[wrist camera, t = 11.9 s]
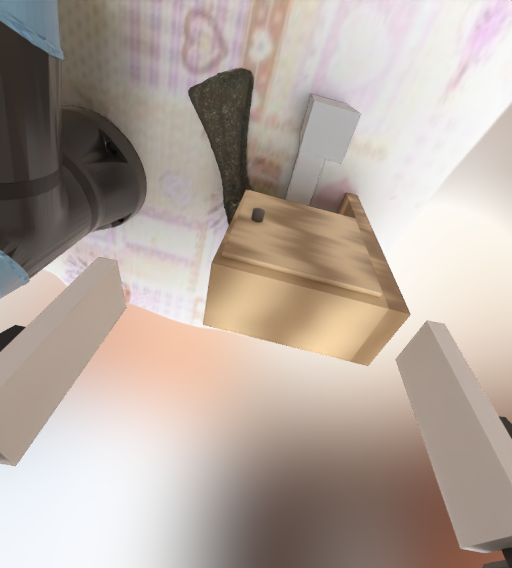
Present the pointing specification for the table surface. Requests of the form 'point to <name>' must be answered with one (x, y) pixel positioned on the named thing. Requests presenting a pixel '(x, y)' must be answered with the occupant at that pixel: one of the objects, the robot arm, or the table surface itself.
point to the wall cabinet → (305, 279)
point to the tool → (227, 128)
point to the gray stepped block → (320, 144)
